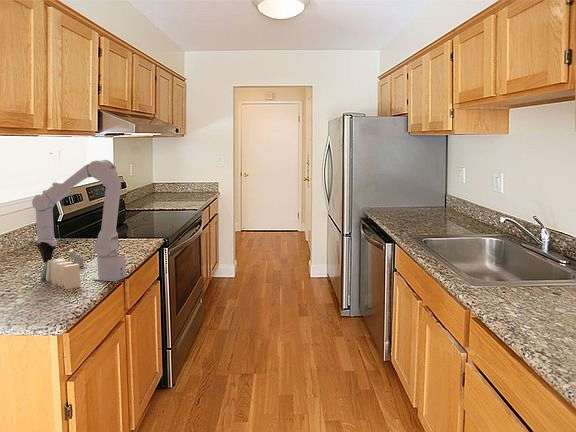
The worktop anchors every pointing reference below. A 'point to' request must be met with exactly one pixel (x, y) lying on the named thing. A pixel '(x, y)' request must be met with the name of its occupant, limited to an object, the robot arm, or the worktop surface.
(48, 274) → the domino
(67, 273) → the domino
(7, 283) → the worktop surface
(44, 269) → the end tile
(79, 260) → the grey angular flat piece
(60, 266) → the domino
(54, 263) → the domino
